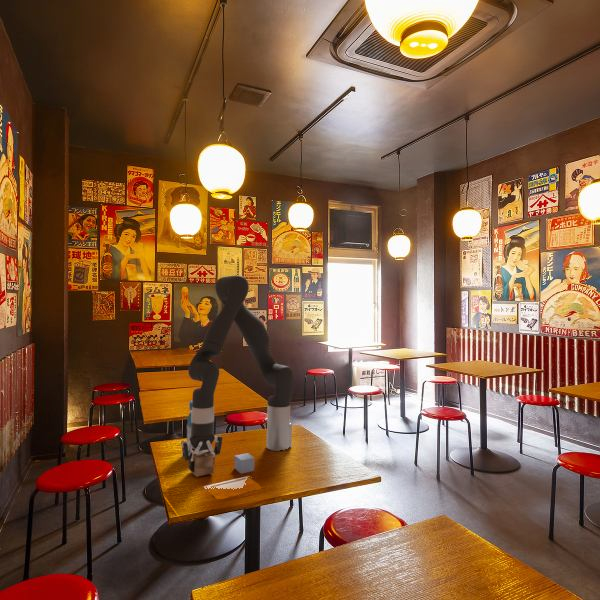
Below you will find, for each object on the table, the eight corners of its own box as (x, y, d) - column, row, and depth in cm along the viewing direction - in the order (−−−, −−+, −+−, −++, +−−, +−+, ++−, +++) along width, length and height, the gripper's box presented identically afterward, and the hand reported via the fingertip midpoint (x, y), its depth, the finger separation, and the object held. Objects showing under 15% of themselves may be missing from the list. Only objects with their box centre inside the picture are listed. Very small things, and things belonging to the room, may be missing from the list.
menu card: (248, 476, 143) (248, 475, 143) (264, 489, 134) (264, 487, 134) (203, 487, 134) (203, 486, 134) (216, 502, 125) (217, 500, 125)
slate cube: (247, 467, 151) (247, 453, 151) (253, 472, 147) (254, 457, 147) (234, 469, 149) (234, 455, 149) (240, 475, 144) (241, 460, 144)
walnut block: (206, 466, 148) (207, 449, 148) (213, 473, 143) (213, 455, 143) (189, 470, 144) (190, 452, 144) (196, 476, 139) (196, 458, 139)
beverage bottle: (185, 457, 158) (187, 404, 158) (186, 449, 167) (187, 398, 167) (208, 456, 160) (210, 403, 160) (208, 448, 169) (209, 398, 168)
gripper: (218, 414, 151) (217, 461, 151) (178, 419, 143) (176, 470, 143) (227, 419, 144) (225, 469, 144) (185, 425, 136) (184, 478, 136)
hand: (201, 469), depth 144 cm, fingers closed on walnut block, 6 cm apart
